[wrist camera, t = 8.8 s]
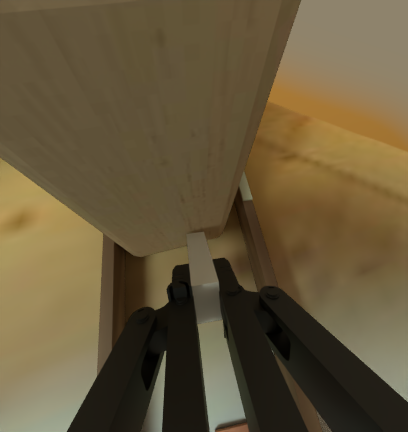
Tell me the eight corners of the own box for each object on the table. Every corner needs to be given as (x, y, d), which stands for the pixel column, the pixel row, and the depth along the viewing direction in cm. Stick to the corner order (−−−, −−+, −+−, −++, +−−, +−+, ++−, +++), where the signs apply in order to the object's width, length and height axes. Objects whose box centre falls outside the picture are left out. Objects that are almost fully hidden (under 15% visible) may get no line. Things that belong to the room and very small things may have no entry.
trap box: (109, 616, 12) (31, 886, 6) (117, 142, 27) (97, 101, 22) (338, 544, 13) (439, 715, 8) (222, 131, 29) (228, 90, 23)
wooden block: (202, 167, 26) (209, -165, 7) (224, 238, 22) (357, -97, 4) (124, 183, 24) (-94, -171, 6) (134, 261, 21) (-379, -76, 2)
